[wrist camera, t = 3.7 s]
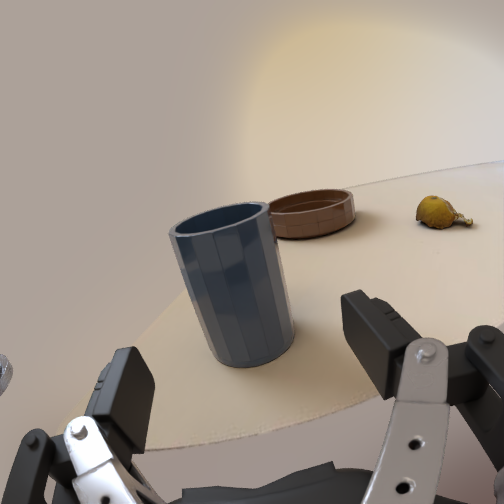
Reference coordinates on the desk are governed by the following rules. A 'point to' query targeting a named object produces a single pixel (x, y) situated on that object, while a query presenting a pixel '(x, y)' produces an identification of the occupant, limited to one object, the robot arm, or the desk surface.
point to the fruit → (438, 212)
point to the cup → (236, 282)
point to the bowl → (312, 213)
